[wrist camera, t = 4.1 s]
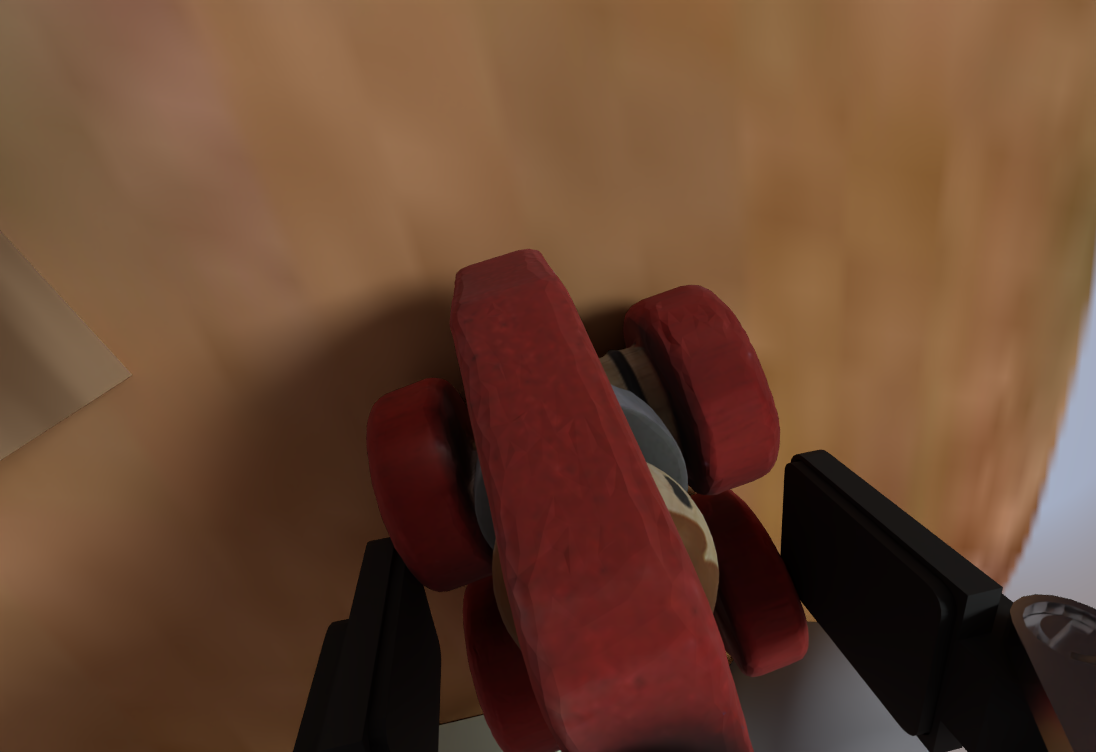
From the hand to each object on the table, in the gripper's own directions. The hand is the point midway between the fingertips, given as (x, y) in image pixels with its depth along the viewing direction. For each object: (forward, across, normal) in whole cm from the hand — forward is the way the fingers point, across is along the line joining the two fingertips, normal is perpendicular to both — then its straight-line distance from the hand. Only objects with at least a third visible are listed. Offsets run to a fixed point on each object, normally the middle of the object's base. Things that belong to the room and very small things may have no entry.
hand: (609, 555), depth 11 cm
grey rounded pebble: (+3, -6, +9) cm, 11 cm away
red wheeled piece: (+3, 0, 0) cm, 3 cm away
